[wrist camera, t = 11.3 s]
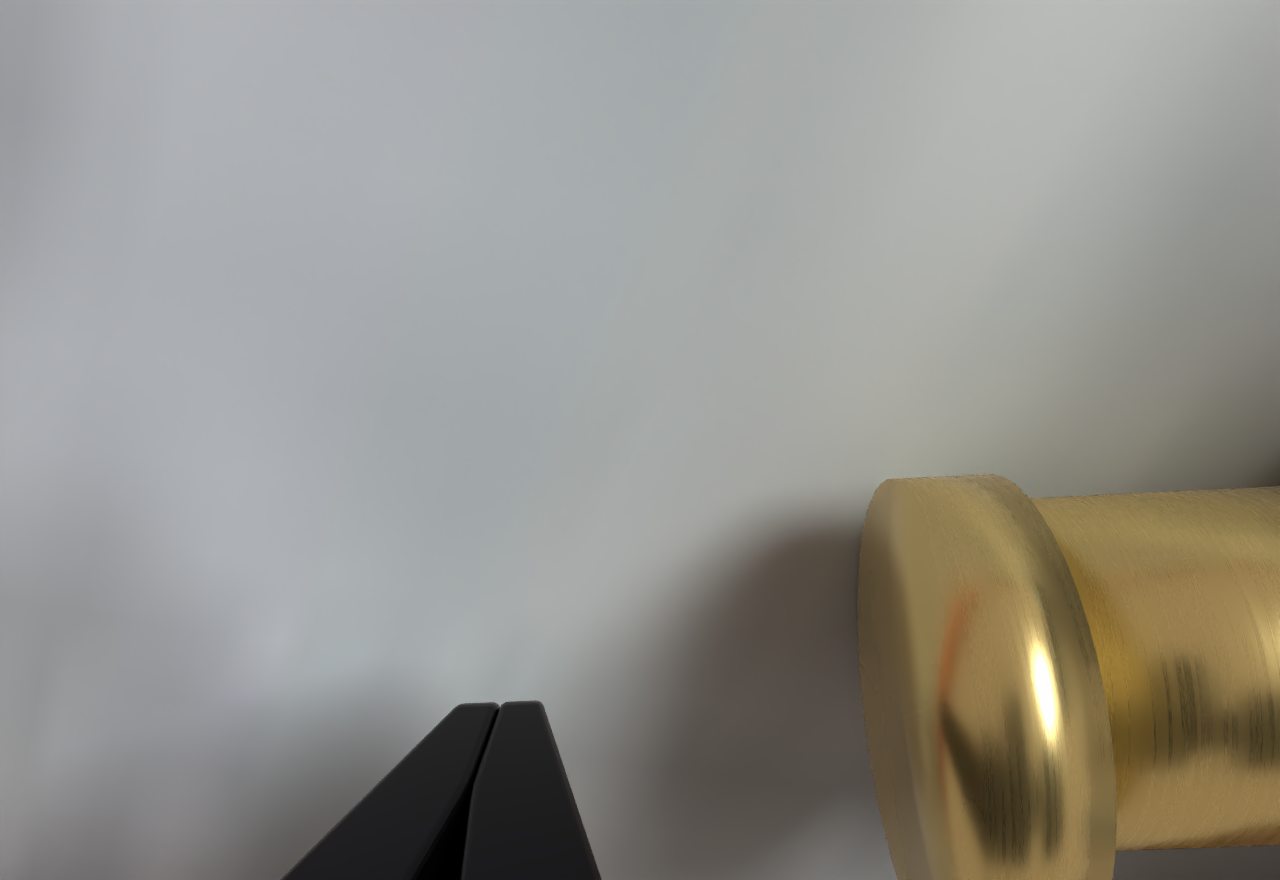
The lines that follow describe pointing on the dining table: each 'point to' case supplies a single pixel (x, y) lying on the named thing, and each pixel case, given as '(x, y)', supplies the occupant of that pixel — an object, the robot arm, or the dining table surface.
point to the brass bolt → (1068, 675)
